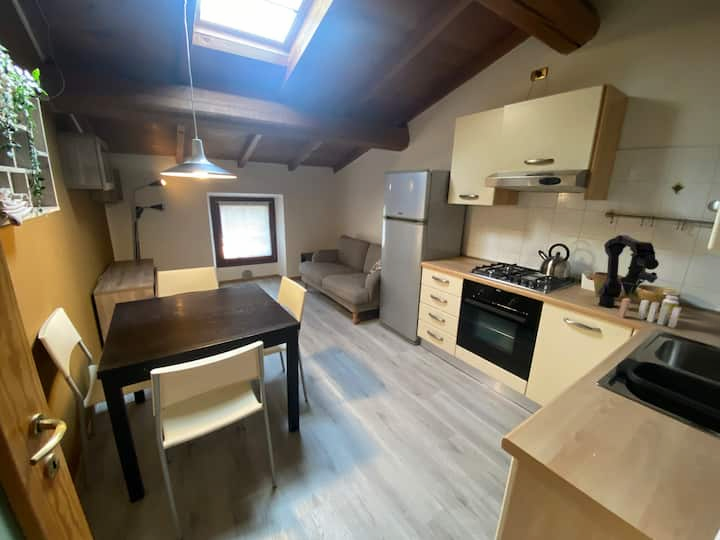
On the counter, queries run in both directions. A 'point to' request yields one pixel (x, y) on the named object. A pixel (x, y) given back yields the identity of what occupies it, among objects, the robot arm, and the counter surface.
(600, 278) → the plant pot
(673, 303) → the pill bottle
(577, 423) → the counter surface
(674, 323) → the ivory domino
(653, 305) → the ivory domino
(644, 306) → the ivory domino
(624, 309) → the terracotta domino
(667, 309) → the ivory domino
